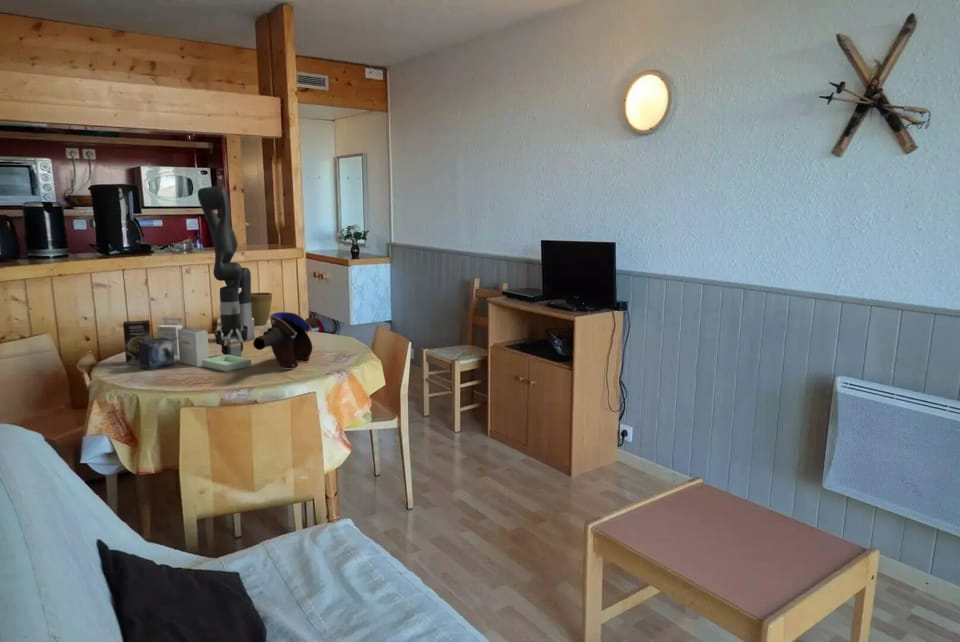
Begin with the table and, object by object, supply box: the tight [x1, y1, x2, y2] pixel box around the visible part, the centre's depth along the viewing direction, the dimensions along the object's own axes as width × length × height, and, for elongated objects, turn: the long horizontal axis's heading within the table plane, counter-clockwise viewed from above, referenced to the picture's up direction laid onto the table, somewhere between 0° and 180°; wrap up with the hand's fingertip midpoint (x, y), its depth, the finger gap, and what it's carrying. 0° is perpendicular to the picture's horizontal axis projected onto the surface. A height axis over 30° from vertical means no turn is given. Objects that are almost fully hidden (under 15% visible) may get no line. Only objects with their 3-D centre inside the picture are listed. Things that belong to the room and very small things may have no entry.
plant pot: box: [251, 292, 273, 327], centre depth 330 cm, size 15×15×16 cm
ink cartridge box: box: [156, 316, 183, 356], centre depth 263 cm, size 9×5×15 cm, turn 84°
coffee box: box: [122, 320, 151, 365], centre depth 248 cm, size 9×6×16 cm
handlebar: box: [252, 311, 318, 369], centre depth 246 cm, size 45×13×20 cm, turn 170°
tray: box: [201, 354, 252, 373], centre depth 244 cm, size 11×15×3 cm
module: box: [226, 338, 242, 358], centre depth 259 cm, size 5×5×7 cm
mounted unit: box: [177, 327, 210, 367], centre depth 248 cm, size 6×12×13 cm, turn 56°
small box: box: [138, 337, 176, 372], centre depth 241 cm, size 11×6×10 cm, turn 148°
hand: (232, 352), depth 259 cm, fingers open, 6 cm apart
